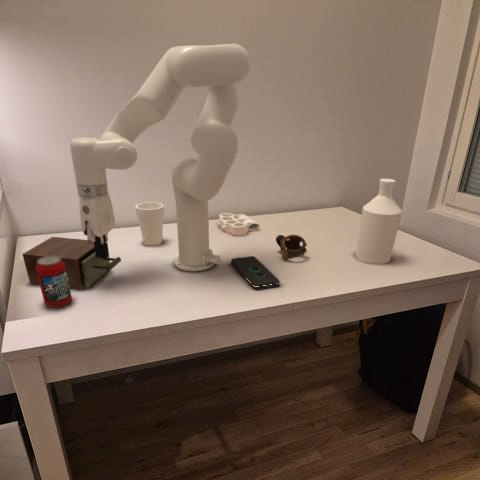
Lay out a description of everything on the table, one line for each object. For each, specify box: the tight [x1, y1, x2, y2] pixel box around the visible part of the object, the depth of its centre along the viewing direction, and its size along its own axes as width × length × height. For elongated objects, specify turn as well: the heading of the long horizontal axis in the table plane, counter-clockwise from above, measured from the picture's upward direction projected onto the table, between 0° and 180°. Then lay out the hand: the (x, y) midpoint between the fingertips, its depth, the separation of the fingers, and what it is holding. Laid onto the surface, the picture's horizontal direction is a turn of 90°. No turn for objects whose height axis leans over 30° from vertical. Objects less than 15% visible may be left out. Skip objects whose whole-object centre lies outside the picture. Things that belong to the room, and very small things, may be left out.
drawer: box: [78, 249, 122, 287], centre depth 120 cm, size 20×13×7 cm, turn 79°
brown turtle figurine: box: [275, 234, 308, 261], centre depth 139 cm, size 12×10×8 cm
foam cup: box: [135, 201, 165, 247], centre depth 145 cm, size 10×9×13 cm
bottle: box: [355, 178, 403, 265], centre depth 134 cm, size 12×12×25 cm
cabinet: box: [21, 236, 95, 290], centre depth 121 cm, size 16×14×9 cm
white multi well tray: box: [215, 212, 261, 237], centre depth 163 cm, size 3×18×15 cm
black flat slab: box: [230, 255, 280, 291], centre depth 126 cm, size 8×2×20 cm
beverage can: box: [36, 256, 73, 308], centre depth 106 cm, size 7×7×12 cm
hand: (102, 256), depth 117 cm, fingers closed
